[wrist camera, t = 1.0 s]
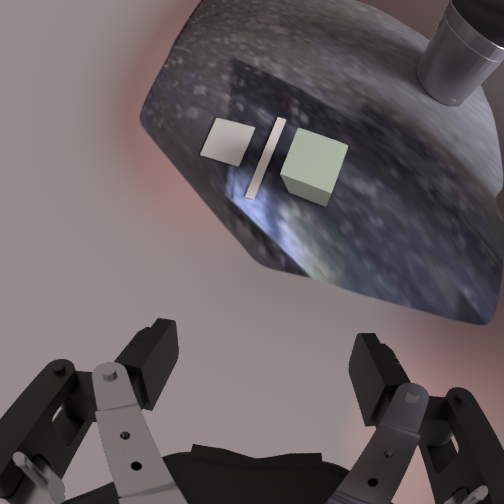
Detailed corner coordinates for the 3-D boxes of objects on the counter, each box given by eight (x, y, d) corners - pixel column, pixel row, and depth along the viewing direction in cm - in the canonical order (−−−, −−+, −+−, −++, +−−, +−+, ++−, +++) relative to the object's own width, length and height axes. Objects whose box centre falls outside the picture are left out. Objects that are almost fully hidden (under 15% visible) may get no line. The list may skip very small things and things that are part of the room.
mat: (217, 118, 36) (216, 117, 35) (255, 128, 35) (254, 127, 34) (200, 155, 36) (200, 154, 36) (238, 167, 35) (238, 166, 35)
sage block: (302, 157, 34) (298, 127, 24) (338, 171, 33) (348, 145, 23) (289, 192, 34) (279, 173, 24) (325, 207, 33) (331, 193, 23)
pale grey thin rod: (278, 117, 34) (277, 117, 34) (286, 120, 34) (286, 119, 34) (245, 197, 35) (245, 196, 35) (253, 200, 35) (253, 199, 35)
